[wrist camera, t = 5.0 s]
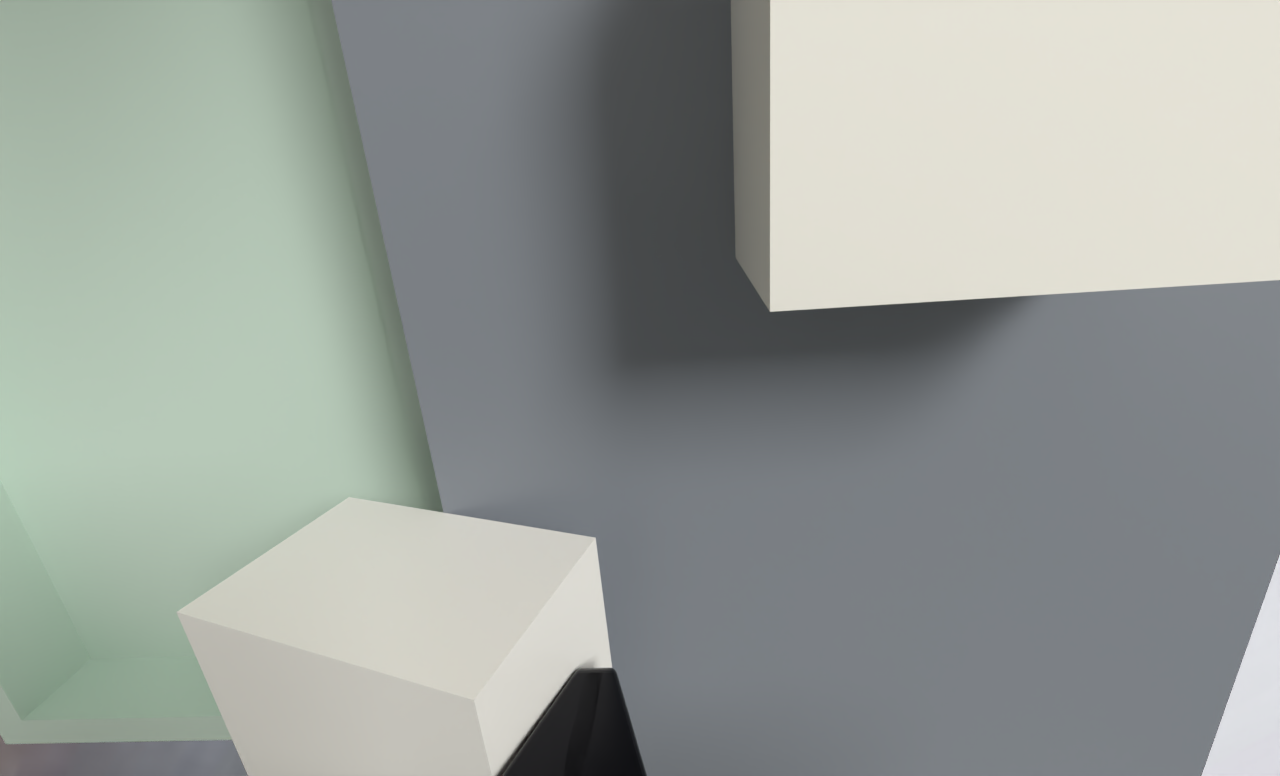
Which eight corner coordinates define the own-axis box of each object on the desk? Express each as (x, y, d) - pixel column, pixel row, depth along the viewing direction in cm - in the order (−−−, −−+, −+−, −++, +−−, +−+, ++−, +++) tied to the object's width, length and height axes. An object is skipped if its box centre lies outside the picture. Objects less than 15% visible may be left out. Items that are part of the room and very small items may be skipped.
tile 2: (624, 769, 9) (538, 972, 7) (408, 702, 10) (280, 849, 8) (595, 537, 8) (474, 699, 5) (349, 497, 9) (176, 612, 7)
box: (515, 651, 13) (490, 735, 11) (96, 663, 14) (5, 744, 12) (340, -277, 8) (237, -414, 6) (-335, -190, 8) (-621, -287, 6)
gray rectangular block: (1079, 636, 12) (1200, 778, 10) (539, 651, 13) (503, 788, 10) (1317, -403, 7) (1747, -769, 4) (378, -282, 8) (214, -529, 5)
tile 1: (1104, 232, 7) (1338, 275, 4) (735, 258, 7) (770, 312, 5) (1195, -243, 5) (1611, -553, 3) (726, -189, 6) (770, -435, 3)
